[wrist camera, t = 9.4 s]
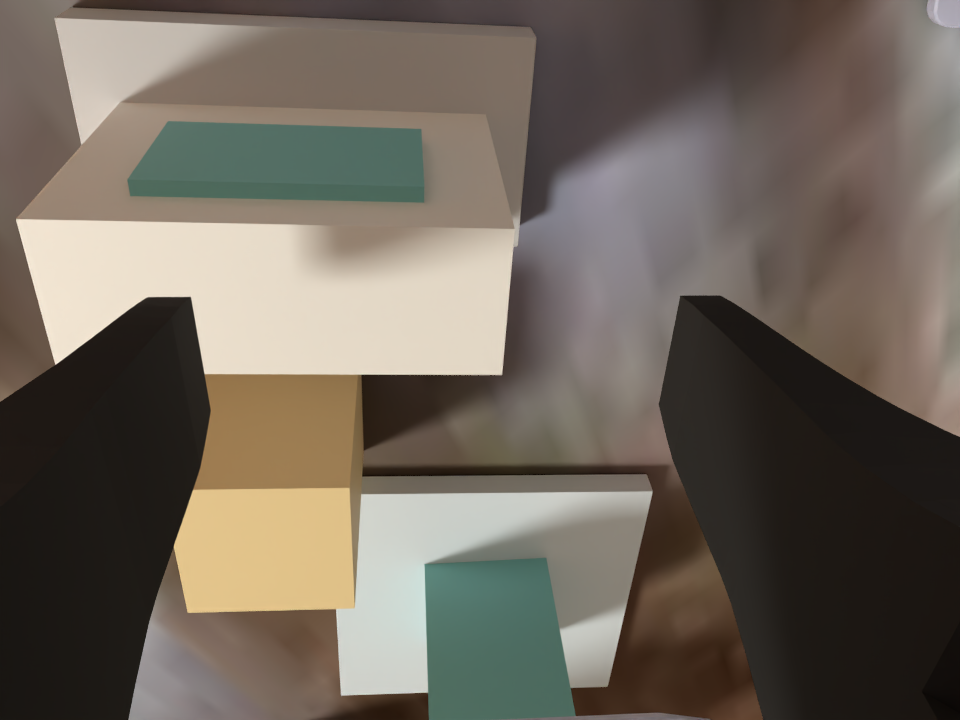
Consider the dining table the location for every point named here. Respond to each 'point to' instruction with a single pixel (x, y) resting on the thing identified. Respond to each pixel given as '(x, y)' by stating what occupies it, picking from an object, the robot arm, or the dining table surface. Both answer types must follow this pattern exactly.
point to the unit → (290, 188)
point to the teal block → (494, 642)
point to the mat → (486, 537)
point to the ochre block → (275, 495)
